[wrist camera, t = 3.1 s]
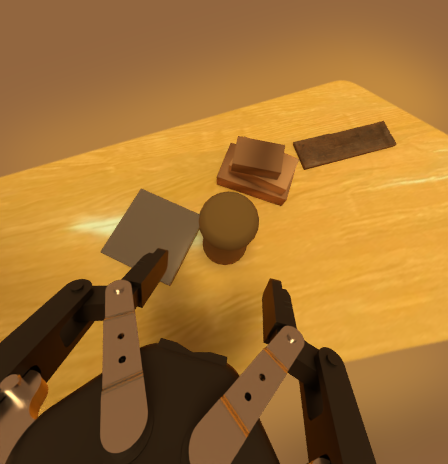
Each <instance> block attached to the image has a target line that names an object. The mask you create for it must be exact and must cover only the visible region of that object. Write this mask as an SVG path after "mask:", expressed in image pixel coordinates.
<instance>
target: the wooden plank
mask: <svg viewBox="0 0 448 464" xmlns="http://www.w3.org/2000/svg"><path fill="white" fill-rule="evenodd" d="M389 133H390V131H389V130H388V128H387V126H386V124H385V122H384V121H382V122H378V123H374V124H370V125H366V126H362V127H357V128H354V129H350V130H346V131H342V132H338V133H333V134H327V135H322V136H318V137H314V138H309V139H306V140H301V141H297V142H293V143H294V144H293V145H294V147H295V150H296V153H297V155H298V157H299V160H300V162H301V164H302V166H303V168H304V170H306V169H309V168H313V167H317V166H321V165H324V164H328V163H332V162H336V161H340V160H344V159H347V158H351V157H355V156H359V155H363V154H366V153H370V152H374V151H378V150H382V149H386V148H389V147H393V146H395V145H397V144H396V142H395V140H394V138H393V137H392V136H391V134H389Z"/></svg>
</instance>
